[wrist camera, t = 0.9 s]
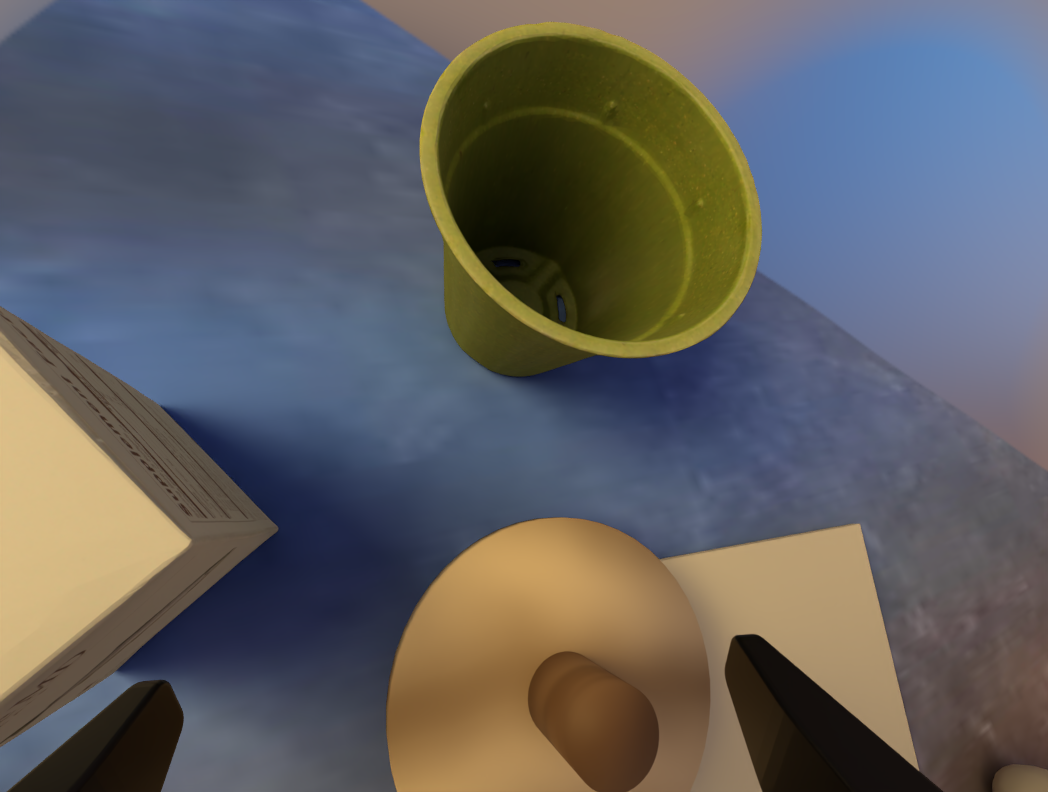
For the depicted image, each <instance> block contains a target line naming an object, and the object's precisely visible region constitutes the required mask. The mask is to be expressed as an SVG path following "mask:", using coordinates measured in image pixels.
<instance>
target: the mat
mask: <svg viewBox="0 0 1048 792" xmlns="http://www.w3.org/2000/svg"><path fill="white" fill-rule="evenodd" d="M659 560H660V561H661V562H662V563H663V564H664V565H665V566H666V567H667V569H668V570H669V571H670V572H671V574H672V575H673V576H674V577H675V579H676V580H677V582H678V583H679V585H680V587H681V588H682V590H683V591H684V593H685V595H686V596H687V598H688V600H689V603H690V605H691V607H692V609H693V611H694V613H695V615H696V618H697V621H698V624H699V627H700V630H701V633H702V636H703V640H704V645H705V649H706V653H707V658H708V667H709V675H710V699H711V702H710V716H709V727H708V732H707V738H706V744H705V749H704V752H703V756H702V760H701V763H700V767H699V770H698V773H697V776H696V778H695V781H694V783H693V786H692V788H691V791H690V792H762V789H761V787H760V784H759V781H758V779H757V776H756V773H755V770H754V767H753V764H752V761H751V758H750V755H749V752H748V748H747V745H746V742H745V739H744V736H743V733H742V730H741V727H740V724H739V721H738V718H737V715H736V711H735V708H734V705H733V702H732V699H731V696H730V693H729V690H728V687H727V684H726V680H725V663H726V659H727V655H728V651H729V646H730V642H731V639H732V638H733V637H734V636H735V635H744V634H757V635H759V636H761V637H762V638H764V639H765V640H766V641H767V642H769V643H770V644H771V645H772V646H773V647H774V648H776V649H777V650H778V651H779V652H780V653H781V654H783V655H784V656H785V657H786V658H787V659H788V660H790V661H791V662H792V663H793V664H794V665H795V666H797V667H798V668H799V669H800V670H801V671H802V672H804V673H805V674H806V675H807V676H808V677H810V678H811V679H812V680H813V681H814V682H815V683H817V684H818V685H819V686H820V687H821V688H822V689H824V690H825V691H826V692H827V693H828V694H829V695H831V696H832V697H833V698H834V699H835V700H836V701H838V702H839V703H840V704H841V705H842V706H843V707H845V708H846V709H847V710H848V711H849V712H851V713H852V714H853V715H854V716H855V717H856V718H858V719H859V720H860V721H861V722H862V723H863V724H865V725H866V726H867V727H868V728H869V729H870V730H872V731H873V732H874V733H875V734H876V735H877V736H879V737H880V738H881V739H882V740H883V741H885V742H886V743H887V744H888V745H889V746H890V747H892V748H893V749H894V750H895V751H896V752H897V753H899V754H900V755H901V756H902V757H903V758H904V759H906V760H907V761H908V762H909V763H910V764H911V765H913V766H914V767H915V768H916V769H917V770H918V771H919V768H918V764H917V759H916V755H915V751H914V747H913V743H912V739H911V735H910V730H909V726H908V722H907V718H906V714H905V710H904V705H903V701H902V697H901V693H900V689H899V685H898V681H897V676H896V672H895V668H894V664H893V660H892V656H891V651H890V647H889V643H888V639H887V635H886V631H885V627H884V622H883V618H882V614H881V610H880V606H879V602H878V598H877V593H876V589H875V585H874V581H873V577H872V573H871V568H870V564H869V560H868V556H867V552H866V548H865V544H864V539H863V535H862V531H861V527H860V524H848V525H843V526H838V527H832V528H827V529H821V530H816V531H810V532H805V533H799V534H794V535H789V536H783V537H778V538H772V539H767V540H761V541H756V542H750V543H745V544H740V545H734V546H729V547H723V548H718V549H712V550H707V551H701V552H696V553H691V554H685V555H680V556H674V557H669V558H663V559H659Z"/></svg>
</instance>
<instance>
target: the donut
mask: <svg viewBox="0 0 1048 792" xmlns="http://www.w3.org/2000/svg"><path fill="white" fill-rule="evenodd" d="M992 787H993V792H1048V770H1047V769H1043V768H1040V767H1036V766H1032V765H1019V764H1011V765H1008V766H1004V767H1002V768H1001V769H1000V770H999V771H997V772H996V774H995V776H994V779H993V781H992Z"/></svg>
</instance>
